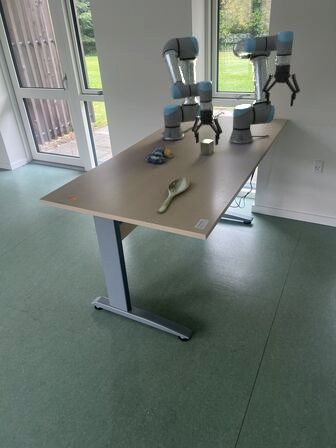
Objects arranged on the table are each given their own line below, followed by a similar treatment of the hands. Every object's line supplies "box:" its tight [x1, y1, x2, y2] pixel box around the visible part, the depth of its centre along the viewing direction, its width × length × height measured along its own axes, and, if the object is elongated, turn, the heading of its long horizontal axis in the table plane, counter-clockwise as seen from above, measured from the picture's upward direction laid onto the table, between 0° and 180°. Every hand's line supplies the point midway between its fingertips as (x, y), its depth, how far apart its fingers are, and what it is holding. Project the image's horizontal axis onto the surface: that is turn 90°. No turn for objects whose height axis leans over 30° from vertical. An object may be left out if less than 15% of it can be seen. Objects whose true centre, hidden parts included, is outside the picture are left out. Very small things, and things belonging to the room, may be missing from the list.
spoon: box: [157, 177, 191, 213], centre depth 166 cm, size 35×11×2 cm, turn 159°
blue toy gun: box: [144, 147, 175, 165], centre depth 212 cm, size 21×4×15 cm
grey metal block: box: [199, 138, 215, 156], centre depth 213 cm, size 6×6×8 cm
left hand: (206, 143), depth 211 cm, fingers open, 13 cm apart
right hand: (279, 105), depth 190 cm, fingers open, 13 cm apart
